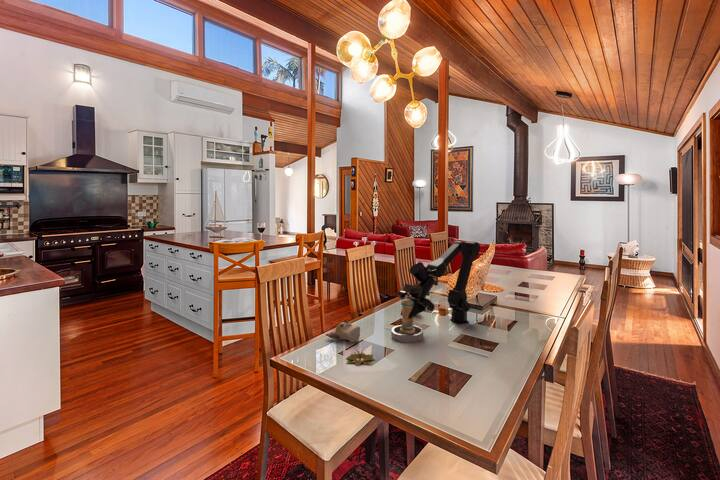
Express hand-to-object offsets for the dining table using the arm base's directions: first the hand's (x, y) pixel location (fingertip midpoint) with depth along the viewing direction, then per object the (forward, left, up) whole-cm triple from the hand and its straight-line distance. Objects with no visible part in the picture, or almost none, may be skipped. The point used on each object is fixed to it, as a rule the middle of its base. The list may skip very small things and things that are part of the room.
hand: (405, 316), depth 164 cm
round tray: (-1, 0, -9) cm, 9 cm away
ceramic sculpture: (+24, -8, -10) cm, 27 cm away
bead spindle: (-1, 0, -7) cm, 7 cm away
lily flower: (+26, +13, -10) cm, 31 cm away
